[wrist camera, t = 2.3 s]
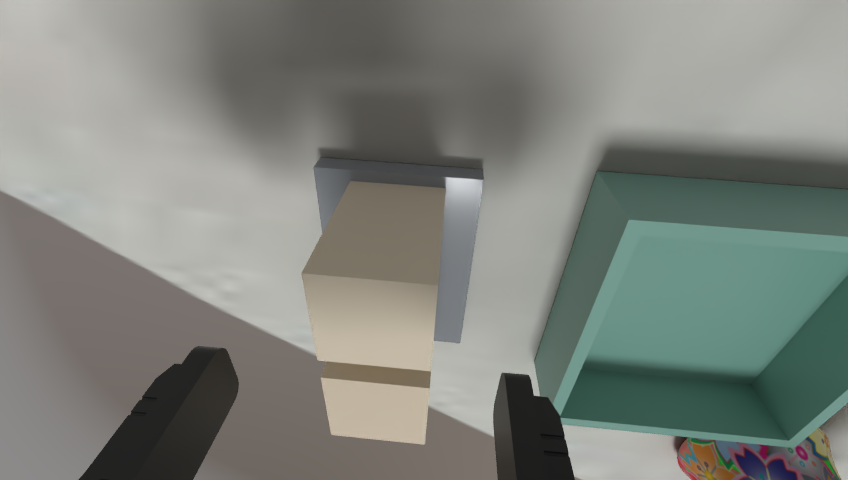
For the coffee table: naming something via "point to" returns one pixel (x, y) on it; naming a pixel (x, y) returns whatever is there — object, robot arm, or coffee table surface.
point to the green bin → (702, 310)
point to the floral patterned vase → (757, 460)
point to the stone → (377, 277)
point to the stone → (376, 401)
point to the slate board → (456, 222)
